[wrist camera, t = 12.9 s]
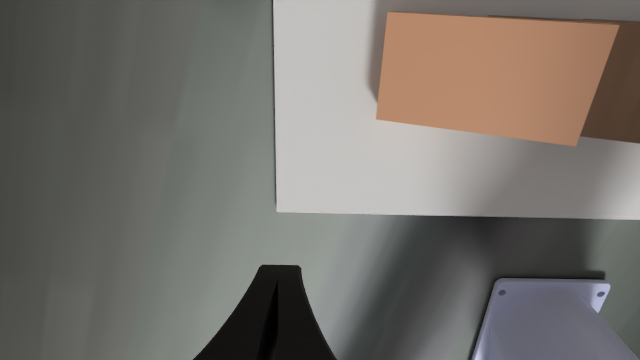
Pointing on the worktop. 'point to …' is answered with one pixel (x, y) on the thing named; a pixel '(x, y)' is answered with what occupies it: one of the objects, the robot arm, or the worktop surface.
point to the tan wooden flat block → (492, 74)
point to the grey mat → (423, 127)
